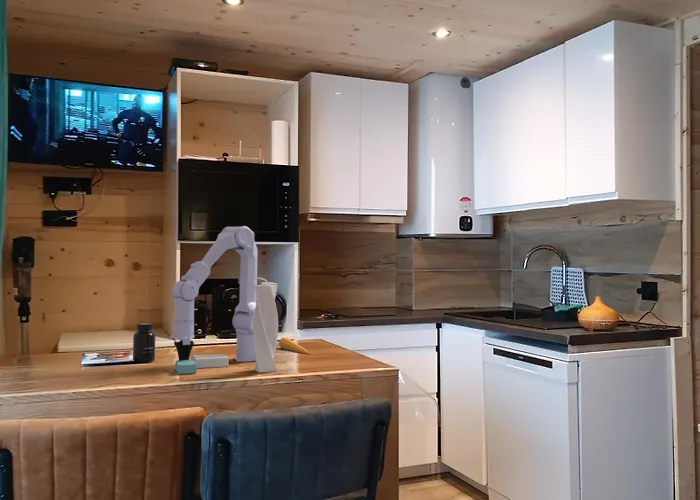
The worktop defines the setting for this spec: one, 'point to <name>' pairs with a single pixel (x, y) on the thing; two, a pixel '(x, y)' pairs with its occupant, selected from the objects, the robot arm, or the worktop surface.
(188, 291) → the robot arm
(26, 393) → the worktop surface
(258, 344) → the skyscraper
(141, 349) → the supplement bottle
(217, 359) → the gray rectangular block
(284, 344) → the carrot
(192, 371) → the stub
